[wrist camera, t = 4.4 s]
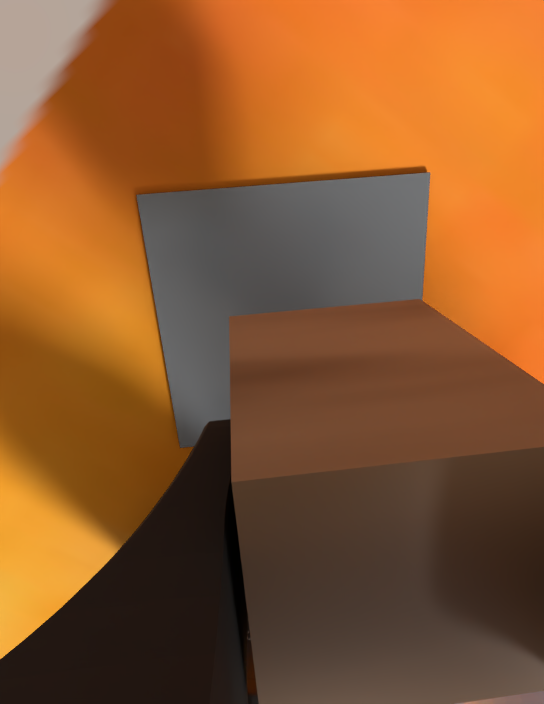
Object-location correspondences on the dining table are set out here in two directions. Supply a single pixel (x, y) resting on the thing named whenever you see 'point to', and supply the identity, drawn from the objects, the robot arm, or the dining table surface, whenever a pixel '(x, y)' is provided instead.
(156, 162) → the dining table surface
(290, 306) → the coaster
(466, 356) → the walnut block
